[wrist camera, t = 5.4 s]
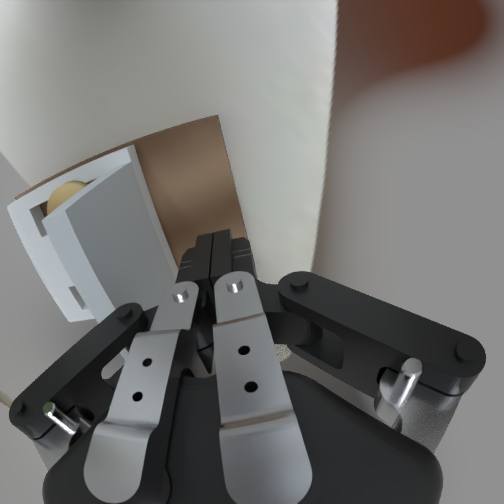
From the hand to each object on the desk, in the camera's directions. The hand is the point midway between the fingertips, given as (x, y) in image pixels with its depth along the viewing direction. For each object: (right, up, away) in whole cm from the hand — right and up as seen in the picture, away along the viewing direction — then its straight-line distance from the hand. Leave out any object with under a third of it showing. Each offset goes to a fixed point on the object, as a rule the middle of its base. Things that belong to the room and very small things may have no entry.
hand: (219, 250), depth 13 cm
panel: (-9, 0, +4) cm, 10 cm away
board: (-6, +2, +5) cm, 8 cm away
